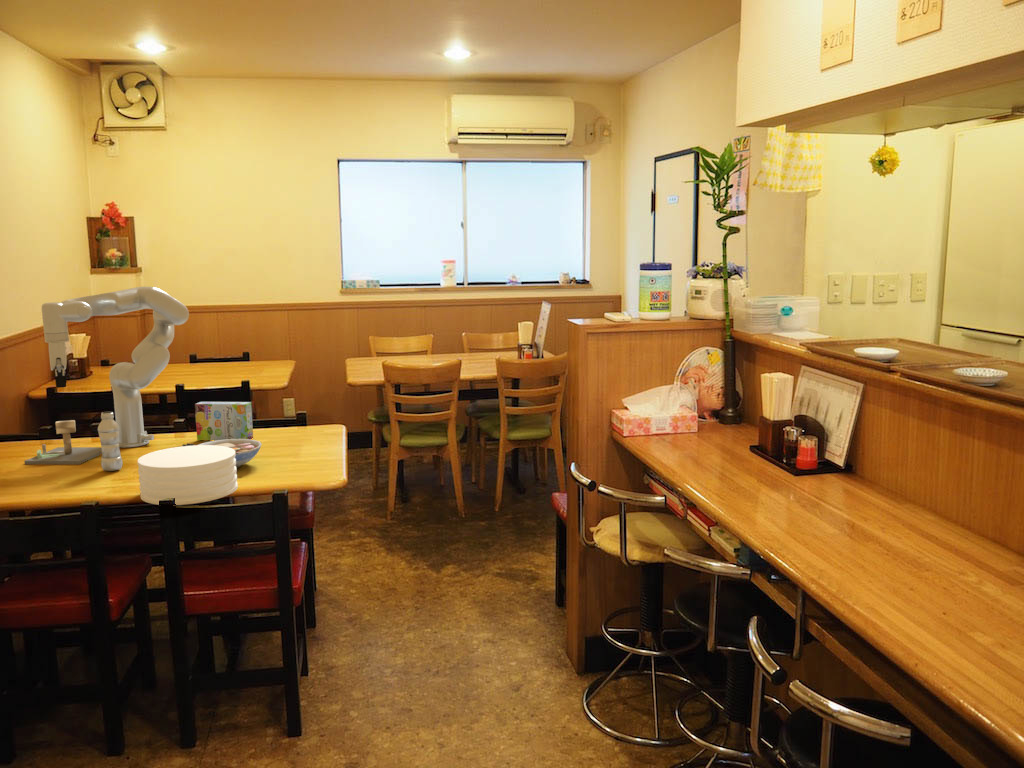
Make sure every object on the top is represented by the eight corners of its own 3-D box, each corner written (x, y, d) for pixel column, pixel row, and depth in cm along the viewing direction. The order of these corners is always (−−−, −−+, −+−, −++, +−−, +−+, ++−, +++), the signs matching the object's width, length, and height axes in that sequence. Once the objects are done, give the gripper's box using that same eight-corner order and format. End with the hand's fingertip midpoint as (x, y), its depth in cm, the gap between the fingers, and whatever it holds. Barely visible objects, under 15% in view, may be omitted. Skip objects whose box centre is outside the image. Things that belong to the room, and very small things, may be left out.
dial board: (110, 450, 313) (109, 442, 312) (80, 464, 293) (79, 455, 293) (58, 450, 314) (57, 442, 314) (24, 464, 294) (23, 455, 294)
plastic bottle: (115, 473, 281) (109, 414, 277) (97, 472, 282) (91, 414, 279) (127, 468, 287) (122, 411, 284) (110, 467, 288) (104, 410, 285)
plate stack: (137, 487, 265) (134, 451, 263) (229, 475, 278) (227, 441, 276) (144, 511, 241) (141, 472, 239) (245, 496, 253) (242, 459, 251)
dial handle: (78, 451, 306) (74, 420, 304) (77, 453, 303) (74, 421, 302) (43, 454, 302) (40, 422, 300) (42, 456, 299) (39, 424, 297)
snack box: (254, 439, 329) (251, 401, 326) (247, 442, 323) (245, 404, 321) (203, 438, 332) (200, 400, 329) (196, 441, 326) (193, 403, 324)
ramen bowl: (279, 464, 291) (278, 440, 289) (226, 480, 271) (225, 455, 270) (229, 455, 303) (227, 433, 302) (175, 470, 284) (173, 446, 282)
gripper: (45, 336, 303) (50, 382, 306) (43, 340, 288) (48, 389, 290) (68, 334, 306) (73, 381, 309) (68, 339, 291) (73, 387, 294)
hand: (61, 385), depth 300 cm, fingers open, 9 cm apart
